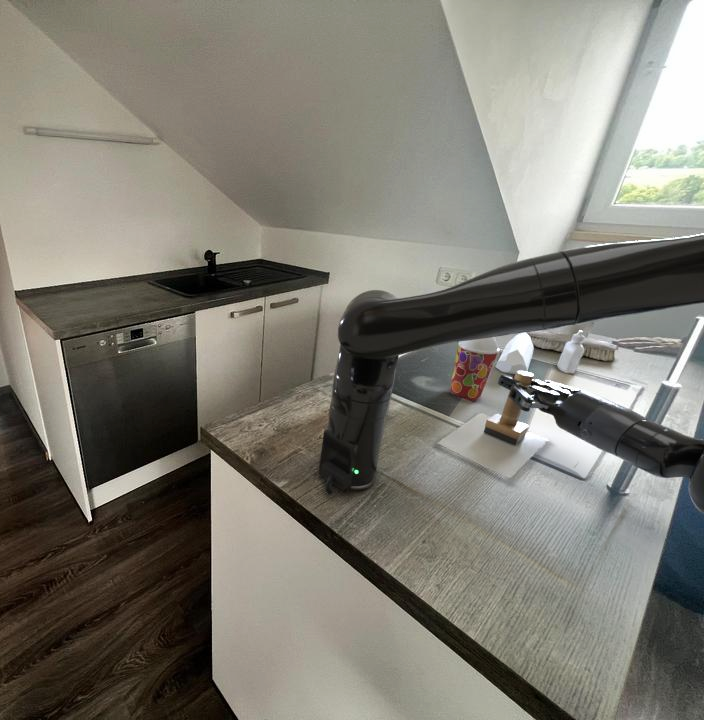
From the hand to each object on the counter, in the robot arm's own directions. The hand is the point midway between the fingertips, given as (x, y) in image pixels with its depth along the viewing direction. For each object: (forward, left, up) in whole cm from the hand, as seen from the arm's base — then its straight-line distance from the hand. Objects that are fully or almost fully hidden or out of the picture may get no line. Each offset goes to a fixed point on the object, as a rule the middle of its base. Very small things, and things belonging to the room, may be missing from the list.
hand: (507, 378), depth 79 cm
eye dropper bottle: (+53, +1, -13) cm, 54 cm away
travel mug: (+86, +8, -13) cm, 87 cm away
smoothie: (+12, +11, -13) cm, 20 cm away
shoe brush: (+71, +5, -13) cm, 72 cm away
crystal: (+47, +11, -13) cm, 50 cm away
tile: (-5, -2, -13) cm, 14 cm away
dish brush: (-2, -3, -11) cm, 12 cm away
